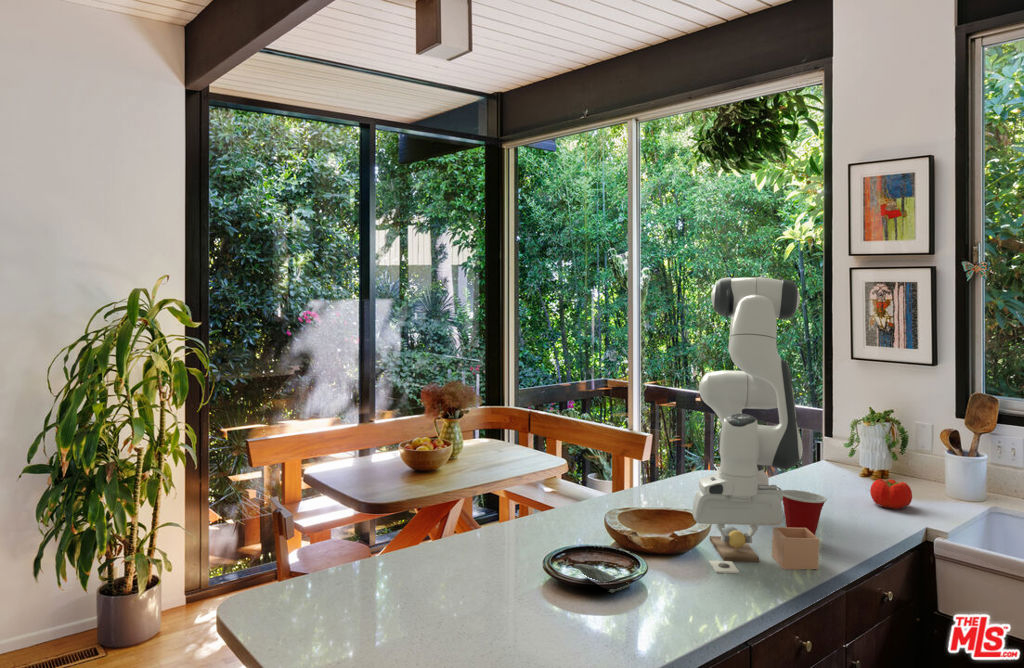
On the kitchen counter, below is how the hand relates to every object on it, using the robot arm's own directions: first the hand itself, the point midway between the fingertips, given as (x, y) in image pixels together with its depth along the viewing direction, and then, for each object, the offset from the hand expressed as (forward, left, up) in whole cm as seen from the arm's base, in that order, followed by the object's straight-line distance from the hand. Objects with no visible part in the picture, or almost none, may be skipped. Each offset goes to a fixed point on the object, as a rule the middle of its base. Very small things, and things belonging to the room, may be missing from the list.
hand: (736, 541), depth 168 cm
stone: (+19, -33, -3) cm, 38 cm away
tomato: (-43, +56, -3) cm, 71 cm away
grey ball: (-6, 0, 0) cm, 6 cm away
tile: (+8, -5, -3) cm, 10 cm away
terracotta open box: (+4, +12, -3) cm, 13 cm away
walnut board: (-3, 0, -3) cm, 4 cm away
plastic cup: (-11, +19, -3) cm, 22 cm away
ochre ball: (0, 0, +1) cm, 1 cm away
